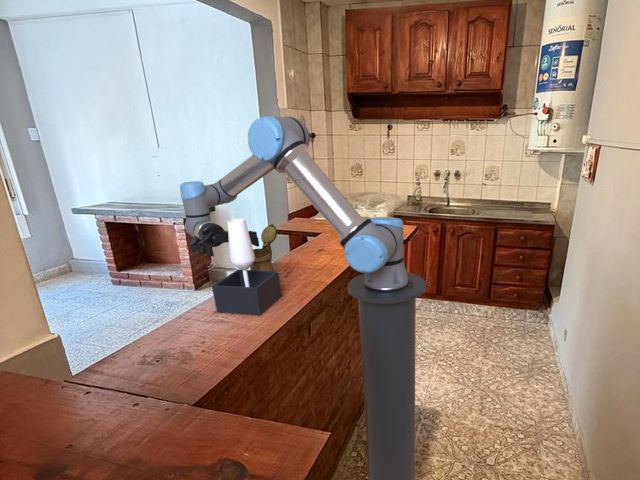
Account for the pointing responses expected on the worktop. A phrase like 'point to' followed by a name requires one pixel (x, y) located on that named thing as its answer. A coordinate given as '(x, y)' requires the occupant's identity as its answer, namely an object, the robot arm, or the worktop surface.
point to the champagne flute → (240, 246)
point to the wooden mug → (265, 250)
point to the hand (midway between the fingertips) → (235, 246)
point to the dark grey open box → (247, 292)
